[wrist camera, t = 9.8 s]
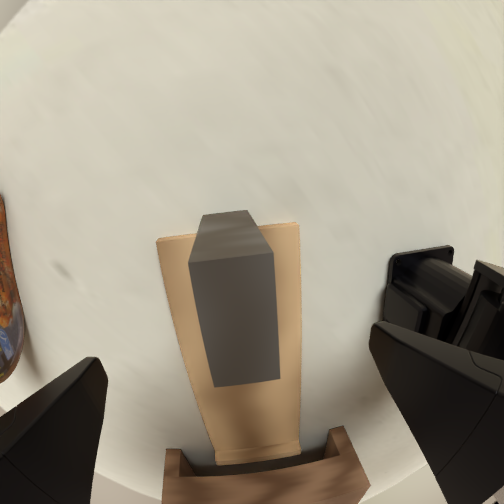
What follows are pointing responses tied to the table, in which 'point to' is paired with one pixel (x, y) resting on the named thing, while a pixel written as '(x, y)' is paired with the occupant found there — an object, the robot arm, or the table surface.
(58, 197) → the table surface
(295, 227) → the scraper
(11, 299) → the tin
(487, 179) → the table surface
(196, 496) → the wooden bridge block
